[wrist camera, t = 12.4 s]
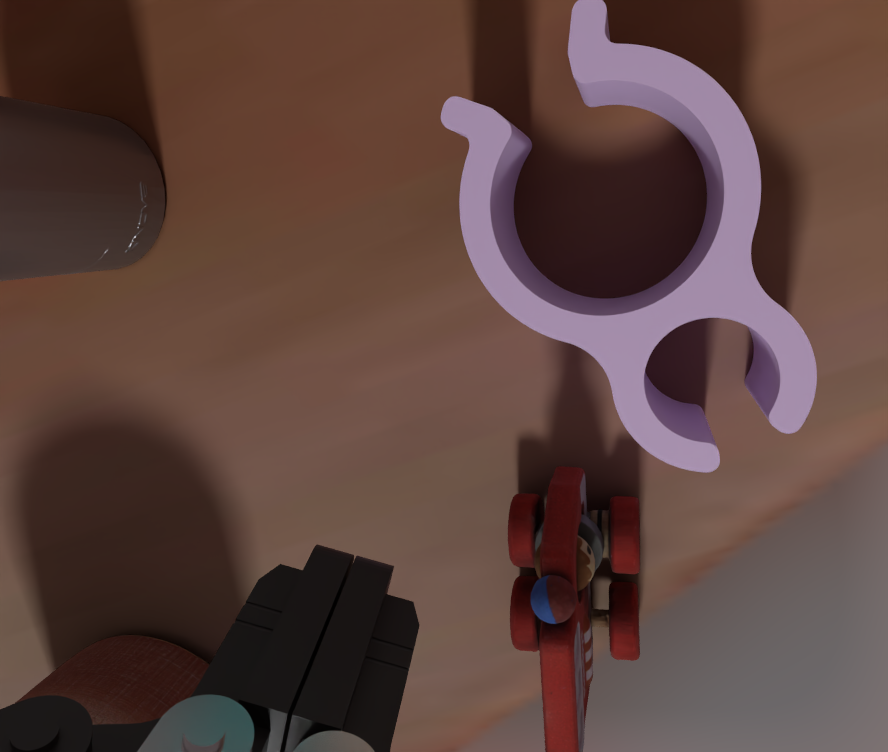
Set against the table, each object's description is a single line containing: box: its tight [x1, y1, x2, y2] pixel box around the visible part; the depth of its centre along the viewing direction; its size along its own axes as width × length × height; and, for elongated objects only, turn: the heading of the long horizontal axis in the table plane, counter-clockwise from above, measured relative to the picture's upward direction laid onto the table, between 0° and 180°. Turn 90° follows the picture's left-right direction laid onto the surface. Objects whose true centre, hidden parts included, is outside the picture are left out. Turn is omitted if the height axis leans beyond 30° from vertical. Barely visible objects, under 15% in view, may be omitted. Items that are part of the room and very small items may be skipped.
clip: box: [441, 0, 817, 472], centre depth 33 cm, size 20×12×7 cm, turn 34°
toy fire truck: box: [508, 466, 640, 752], centre depth 36 cm, size 7×12×10 cm, turn 4°
